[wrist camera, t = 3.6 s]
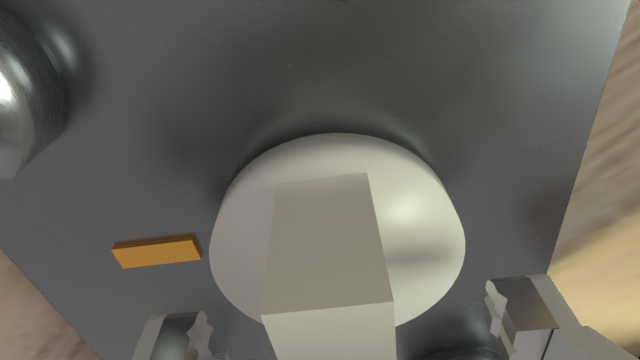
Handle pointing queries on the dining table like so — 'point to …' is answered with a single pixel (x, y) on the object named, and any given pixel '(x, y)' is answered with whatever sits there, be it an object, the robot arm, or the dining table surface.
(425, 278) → the knob
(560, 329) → the robot arm
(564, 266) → the dining table surface
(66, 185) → the levelling base
